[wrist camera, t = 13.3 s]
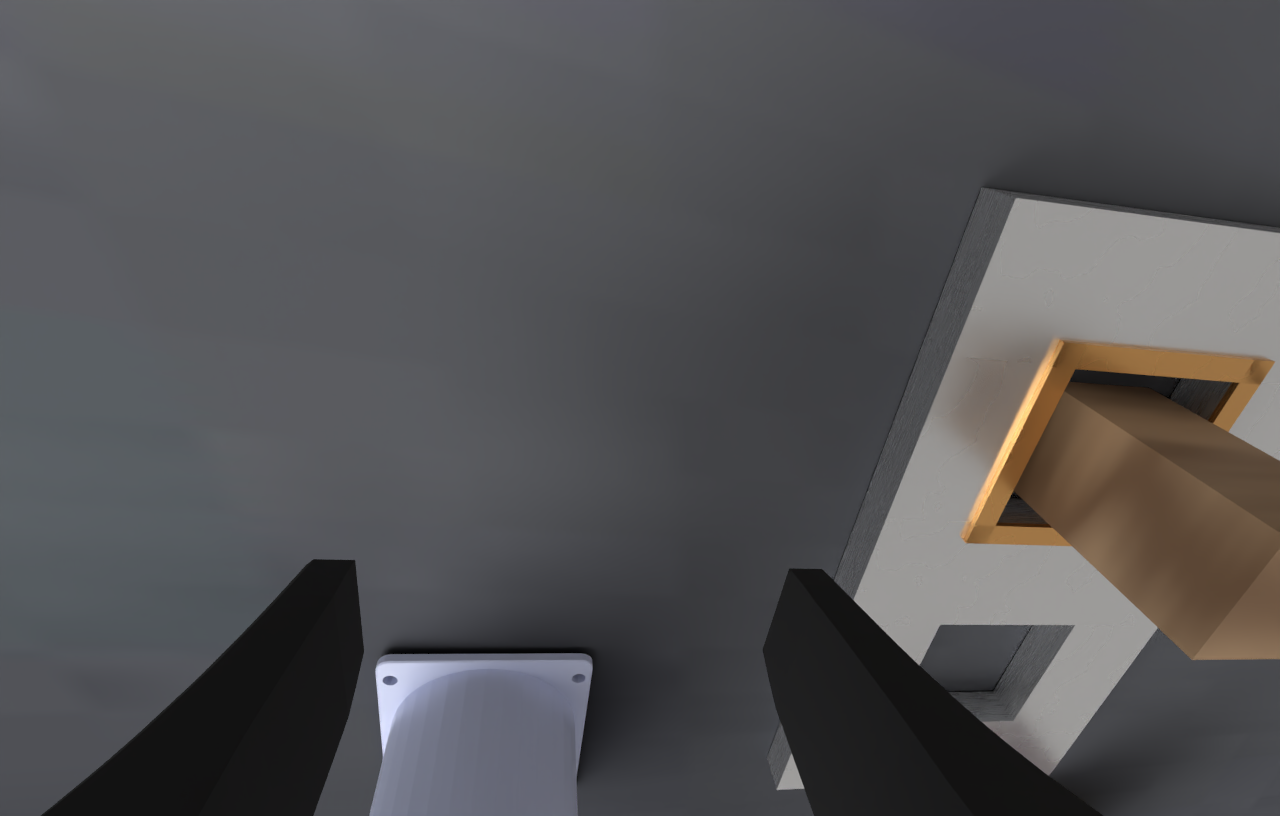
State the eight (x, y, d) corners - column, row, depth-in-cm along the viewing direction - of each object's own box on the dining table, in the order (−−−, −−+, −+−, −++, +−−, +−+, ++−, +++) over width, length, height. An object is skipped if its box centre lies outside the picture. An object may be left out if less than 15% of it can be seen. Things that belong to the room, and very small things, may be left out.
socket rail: (1027, 748, 32) (1050, 781, 31) (767, 757, 30) (778, 794, 28) (1375, 240, 20) (1440, 255, 19) (982, 187, 18) (1021, 199, 16)
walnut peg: (1095, 482, 24) (1317, 658, 17) (1000, 478, 23) (1192, 660, 16) (1148, 387, 22) (1424, 542, 15) (1047, 380, 21) (1287, 538, 14)
